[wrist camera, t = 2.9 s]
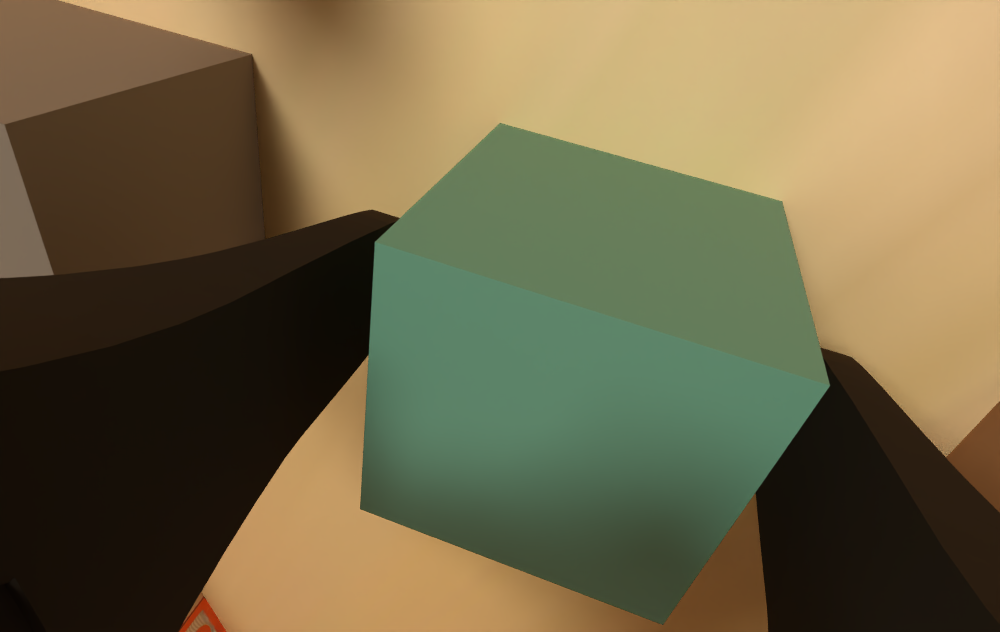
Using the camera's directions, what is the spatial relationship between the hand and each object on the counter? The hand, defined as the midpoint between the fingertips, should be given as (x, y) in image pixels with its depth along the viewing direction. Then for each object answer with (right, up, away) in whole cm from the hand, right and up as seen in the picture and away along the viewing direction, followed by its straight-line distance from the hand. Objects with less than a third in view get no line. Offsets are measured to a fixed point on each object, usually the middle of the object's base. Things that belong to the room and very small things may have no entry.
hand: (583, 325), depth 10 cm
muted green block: (0, +1, +1) cm, 2 cm away
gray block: (-9, +4, +3) cm, 10 cm away
